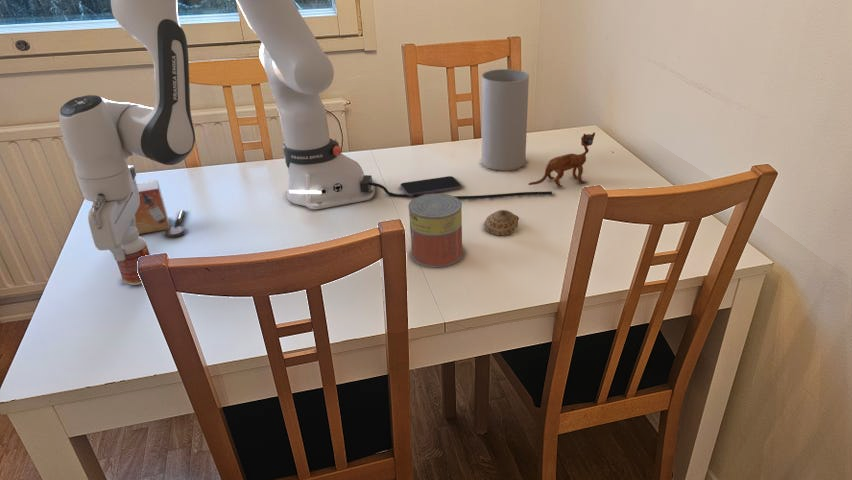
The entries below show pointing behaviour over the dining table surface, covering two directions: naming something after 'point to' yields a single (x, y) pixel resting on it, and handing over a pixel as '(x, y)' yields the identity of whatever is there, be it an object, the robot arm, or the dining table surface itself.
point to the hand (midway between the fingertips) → (127, 247)
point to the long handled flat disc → (176, 227)
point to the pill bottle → (132, 255)
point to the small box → (151, 209)
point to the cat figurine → (568, 163)
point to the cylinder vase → (504, 118)
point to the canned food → (436, 229)
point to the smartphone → (430, 185)
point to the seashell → (501, 223)
